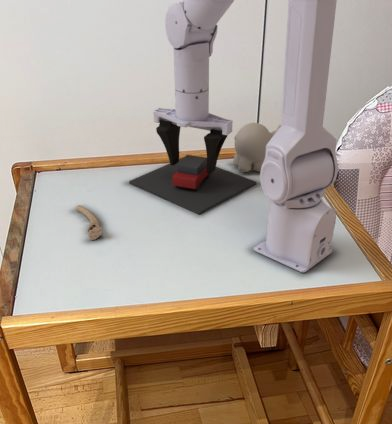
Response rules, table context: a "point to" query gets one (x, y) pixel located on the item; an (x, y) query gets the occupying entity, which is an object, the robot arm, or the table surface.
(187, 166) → the toy car
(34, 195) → the table surface
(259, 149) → the toy rhinoceros
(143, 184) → the mat
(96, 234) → the bone
